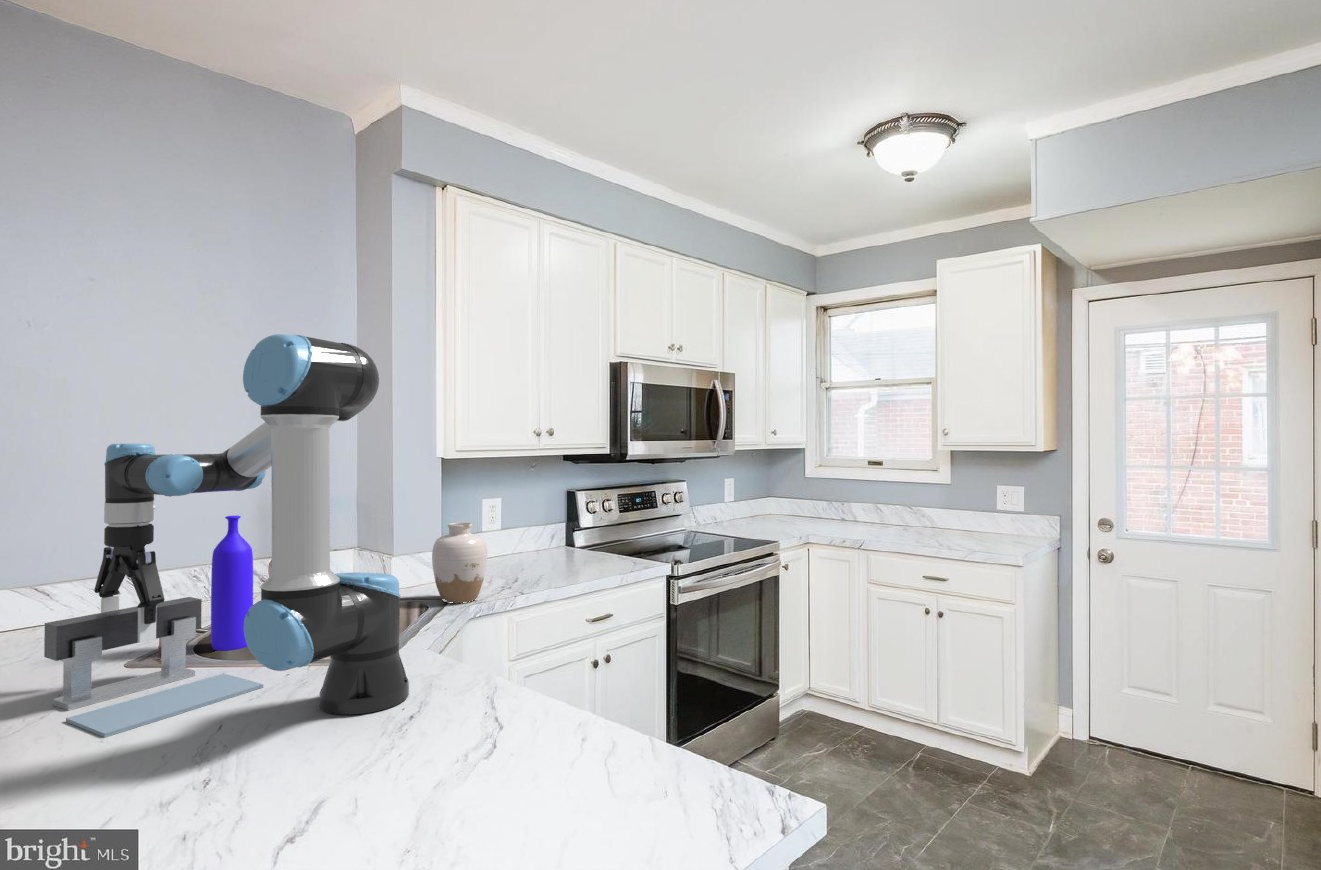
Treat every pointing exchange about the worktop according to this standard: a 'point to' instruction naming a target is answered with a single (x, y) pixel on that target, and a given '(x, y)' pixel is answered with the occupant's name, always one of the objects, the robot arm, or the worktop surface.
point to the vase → (459, 563)
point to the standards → (171, 670)
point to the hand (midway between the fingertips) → (127, 635)
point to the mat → (162, 704)
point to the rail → (115, 626)
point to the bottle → (231, 589)
